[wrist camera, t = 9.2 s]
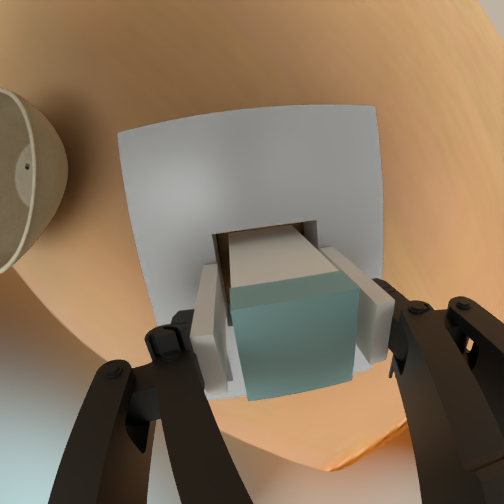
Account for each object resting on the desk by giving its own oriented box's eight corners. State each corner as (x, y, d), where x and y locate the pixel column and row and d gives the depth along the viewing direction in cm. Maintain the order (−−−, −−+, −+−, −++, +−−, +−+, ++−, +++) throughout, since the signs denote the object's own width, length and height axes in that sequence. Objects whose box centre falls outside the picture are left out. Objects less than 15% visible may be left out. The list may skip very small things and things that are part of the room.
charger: (227, 232, 18) (230, 310, 8) (291, 223, 18) (359, 287, 9) (236, 291, 19) (248, 401, 10) (296, 282, 19) (351, 380, 10)
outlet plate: (134, 137, 15) (115, 132, 12) (352, 113, 16) (376, 105, 13) (188, 375, 21) (185, 403, 18) (357, 347, 22) (372, 370, 19)
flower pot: (127, 169, 16) (71, 175, 9) (47, 267, 17) (-9, 309, 10) (52, 77, 13) (-9, 54, 6) (-14, 178, 14) (-74, 191, 8)
